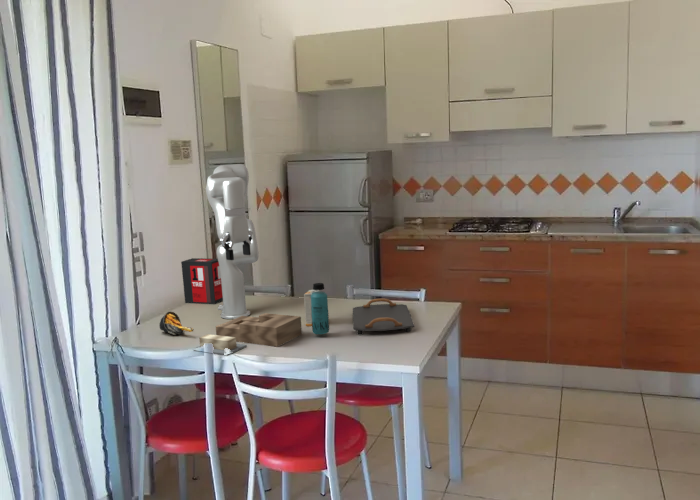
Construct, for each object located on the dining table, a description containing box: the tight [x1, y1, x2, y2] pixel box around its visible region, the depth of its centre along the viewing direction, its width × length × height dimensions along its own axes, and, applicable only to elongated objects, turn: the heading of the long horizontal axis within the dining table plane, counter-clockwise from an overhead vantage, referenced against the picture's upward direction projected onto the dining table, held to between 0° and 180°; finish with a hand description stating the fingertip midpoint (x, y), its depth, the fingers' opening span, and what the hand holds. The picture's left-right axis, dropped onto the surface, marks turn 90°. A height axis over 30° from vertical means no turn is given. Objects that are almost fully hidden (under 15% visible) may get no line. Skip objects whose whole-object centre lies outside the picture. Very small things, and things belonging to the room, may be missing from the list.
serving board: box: [352, 297, 415, 336], centre depth 259 cm, size 39×23×6 cm, turn 0°
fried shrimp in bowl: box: [159, 311, 194, 336], centre depth 257 cm, size 9×11×18 cm
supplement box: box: [303, 289, 321, 327], centre depth 261 cm, size 8×5×13 cm, turn 168°
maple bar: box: [199, 333, 238, 350], centre depth 235 cm, size 13×5×4 cm, turn 61°
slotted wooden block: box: [215, 312, 303, 348], centre depth 247 cm, size 28×16×7 cm, turn 61°
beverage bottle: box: [311, 282, 330, 335], centre depth 243 cm, size 6×7×20 cm
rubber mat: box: [195, 343, 248, 356], centre depth 235 cm, size 16×11×1 cm
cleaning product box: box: [180, 257, 223, 305], centre depth 310 cm, size 16×9×20 cm, turn 69°
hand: (238, 257), depth 248 cm, fingers open, 9 cm apart
